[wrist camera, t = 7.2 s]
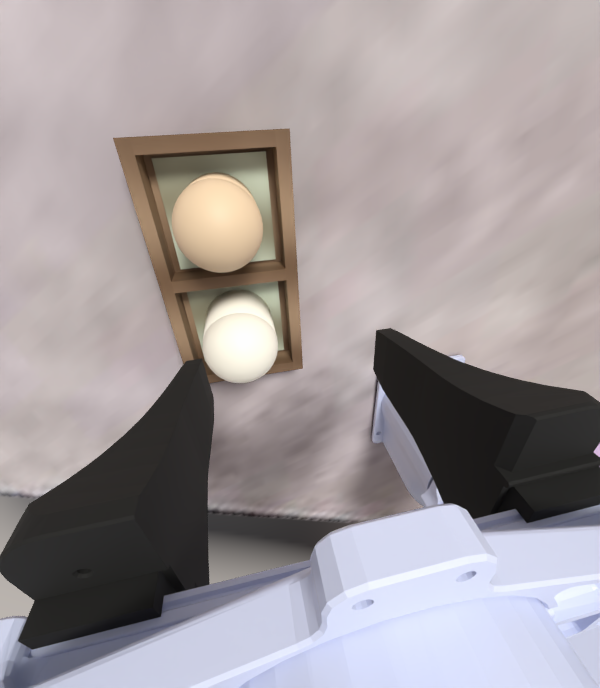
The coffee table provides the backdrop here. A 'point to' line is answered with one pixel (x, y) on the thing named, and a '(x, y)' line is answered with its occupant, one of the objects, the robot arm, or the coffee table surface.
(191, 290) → the egg crate
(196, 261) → the brown egg
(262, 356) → the cream egg
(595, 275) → the coffee table surface
